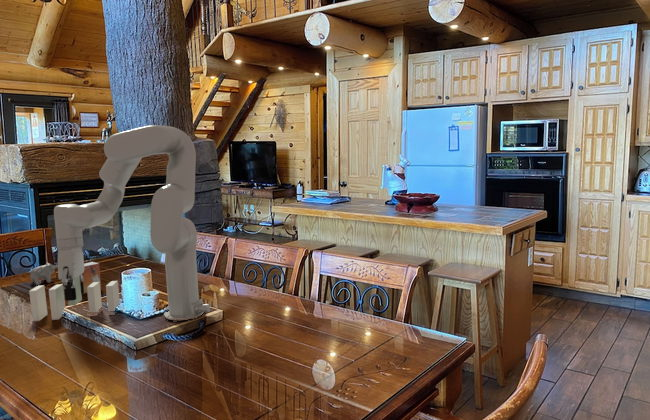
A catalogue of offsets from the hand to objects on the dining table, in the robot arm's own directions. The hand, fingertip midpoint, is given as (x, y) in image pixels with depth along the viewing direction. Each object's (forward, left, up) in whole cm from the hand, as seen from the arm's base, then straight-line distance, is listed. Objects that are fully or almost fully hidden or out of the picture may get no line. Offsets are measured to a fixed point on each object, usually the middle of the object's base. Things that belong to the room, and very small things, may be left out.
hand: (74, 296), depth 160 cm
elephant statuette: (+44, -35, -7) cm, 57 cm away
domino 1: (+11, +4, -6) cm, 13 cm away
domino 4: (-6, -2, -6) cm, 9 cm away
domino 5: (-11, -4, -6) cm, 14 cm away
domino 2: (+5, +2, -6) cm, 8 cm away
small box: (+16, -25, -7) cm, 30 cm away
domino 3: (0, 0, -2) cm, 2 cm away
